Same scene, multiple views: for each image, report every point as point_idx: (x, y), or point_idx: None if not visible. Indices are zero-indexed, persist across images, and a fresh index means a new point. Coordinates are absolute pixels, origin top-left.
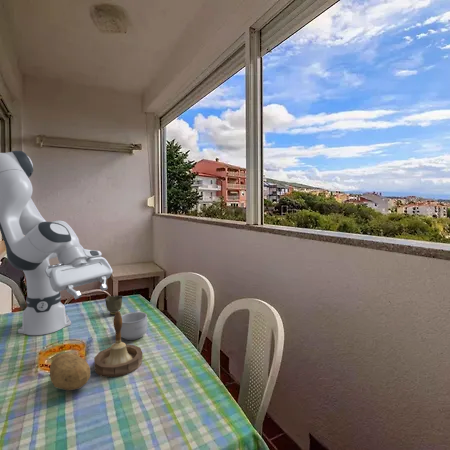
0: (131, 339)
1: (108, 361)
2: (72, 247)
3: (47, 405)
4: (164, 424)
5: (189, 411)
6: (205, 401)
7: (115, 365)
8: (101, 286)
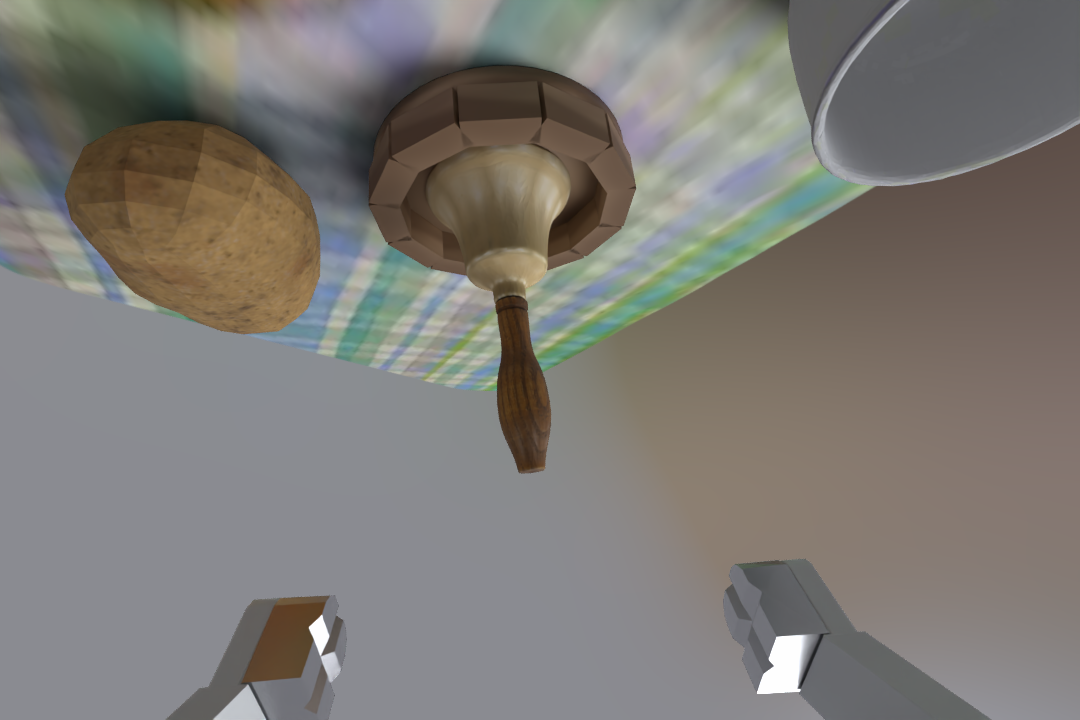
0: None
1: (442, 209)
2: None
3: None
4: (421, 358)
5: (478, 358)
6: None
7: (440, 262)
8: (767, 651)
